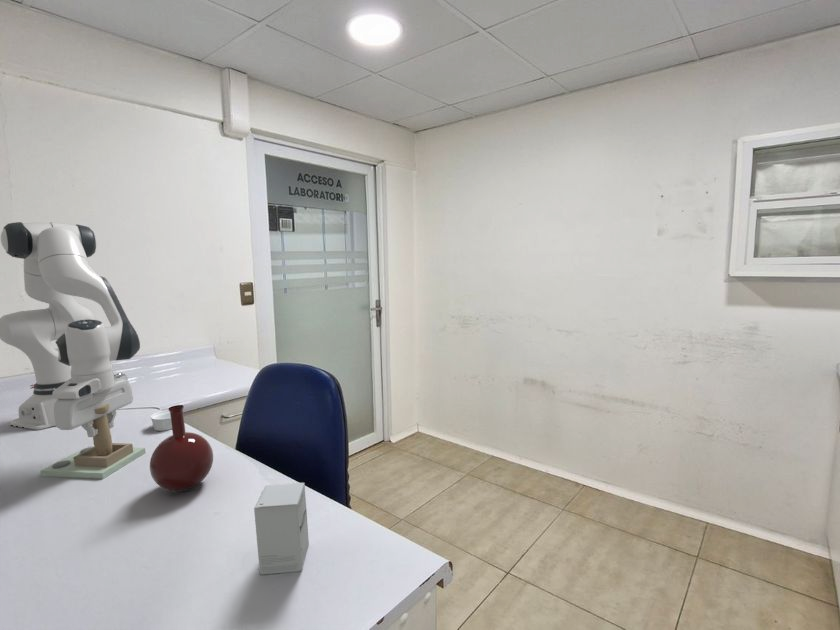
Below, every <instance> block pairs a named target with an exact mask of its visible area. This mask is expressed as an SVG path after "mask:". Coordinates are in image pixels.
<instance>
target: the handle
mask: <svg viewBox="0 0 840 630" xmlns="http://www.w3.org/2000/svg"><path fill="white" fill-rule="evenodd" d="M108 410H109V404H106V405H104V406H101V407H99V408H97V409H95V414H105V412H107V411H108ZM92 426H93V428H94V429H95V428H97V429H98V435H96V436H94V437H92V441H93V446H94V447H95V451H96V454H97V455H98V456H108V455H109V454H111V453H113V452H112V443H113V438H112V434H111V433H112V432H111V428H109V424H108V419H107V414H106V415H103V416H101V417H99V418H97V419H95V420H93V424H92Z"/></svg>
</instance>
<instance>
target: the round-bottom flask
mask: <svg viewBox="0 0 840 630" xmlns="http://www.w3.org/2000/svg"><path fill="white" fill-rule="evenodd" d="M184 407H185V406H184V405H183V404H176V405H172V406H170V407H168V410H169V411H170V415H171V423H172V429H171V430H172V431H171V432H172V435H170V436H168V437H166V438H164V439H163V440H162V441H160V443H159V444H158V445H157V446H156V448H154V450H153V452H152V455H151V457H150V460H149V472H150V475H151V477H152V480H153V481H154V482H155V484H156V485H158V487H160V488H162V489H164V490H165V491H166V490H167V491H170V492H182V491H187V490H191V489H192V488H194V487H196V486H198V485H199V484H200V483H202V481H204V480H205V478H206V477H208V475H209V473H210V471H211V470H212V466H213V463H214V452H213V447H212V446H211V444H210V443H209V441H208V440H207V439H206V438H205V437H203V436H202V435H200V434H197V433H195V432H189V431H187V432H186V426H185V416H184Z"/></svg>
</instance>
